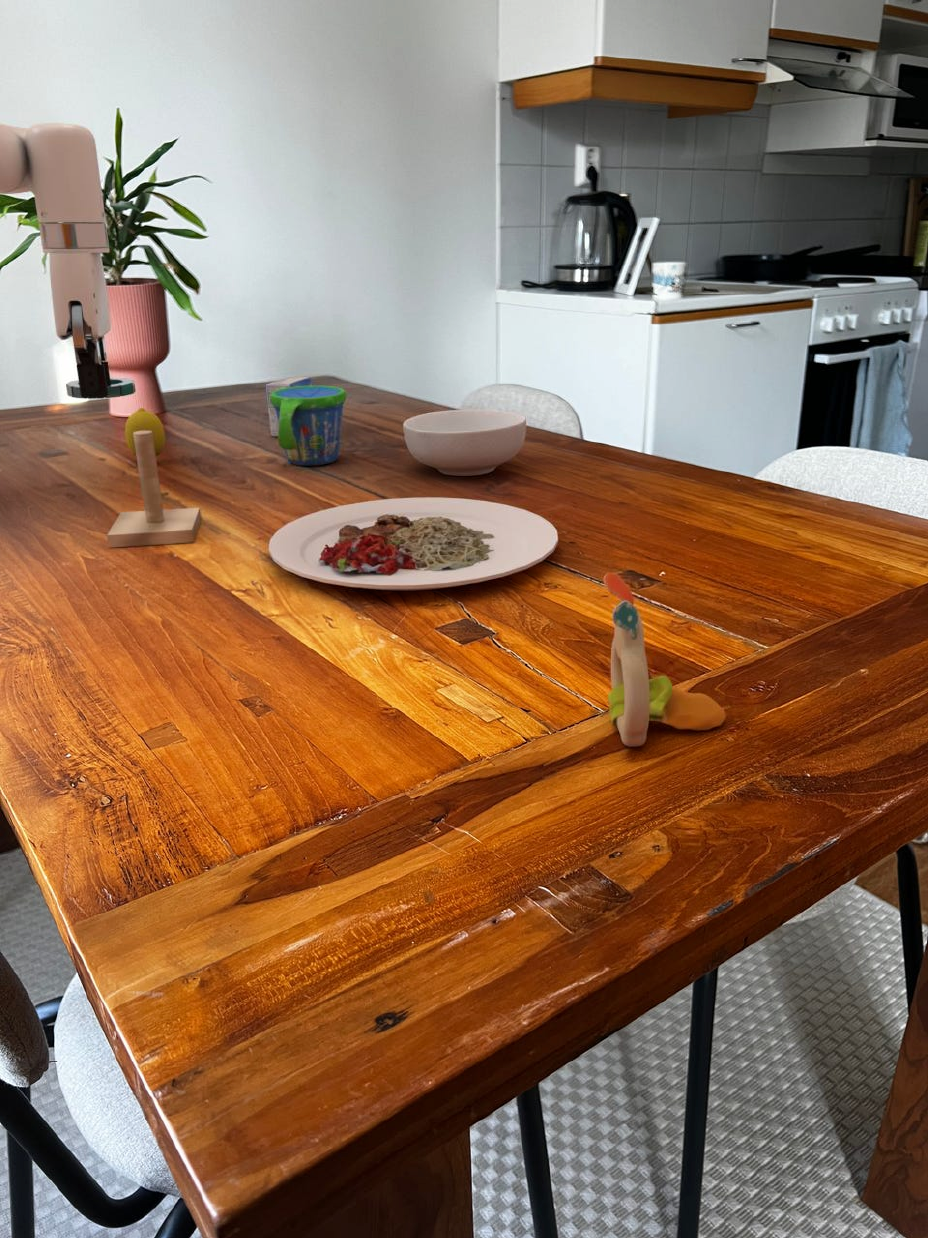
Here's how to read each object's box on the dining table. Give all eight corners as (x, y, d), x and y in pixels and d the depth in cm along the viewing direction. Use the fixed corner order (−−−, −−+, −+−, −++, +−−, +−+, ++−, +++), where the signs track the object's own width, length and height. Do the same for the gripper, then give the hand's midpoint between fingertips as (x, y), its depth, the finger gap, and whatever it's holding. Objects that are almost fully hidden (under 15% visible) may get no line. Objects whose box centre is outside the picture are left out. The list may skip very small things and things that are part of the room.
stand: (109, 547, 105) (91, 442, 100) (122, 524, 113) (107, 426, 109) (193, 542, 106) (180, 438, 102) (201, 519, 114) (189, 422, 110)
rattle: (721, 771, 60) (738, 600, 56) (591, 755, 62) (597, 589, 58) (725, 716, 67) (740, 559, 63) (607, 703, 69) (613, 551, 65)
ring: (62, 399, 121) (60, 388, 121) (75, 389, 129) (74, 378, 128) (129, 397, 122) (128, 386, 122) (139, 387, 130) (138, 376, 129)
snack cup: (315, 476, 133) (309, 401, 129) (251, 470, 137) (244, 397, 133) (371, 453, 146) (367, 384, 142) (311, 447, 150) (306, 381, 146)
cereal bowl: (483, 450, 146) (482, 403, 143) (550, 472, 133) (550, 420, 130) (383, 466, 137) (381, 416, 135) (445, 491, 124) (443, 436, 122)
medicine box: (294, 438, 157) (289, 384, 154) (270, 436, 158) (265, 383, 155) (316, 428, 164) (312, 376, 160) (292, 427, 165) (287, 376, 162)
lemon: (122, 466, 141) (113, 410, 138) (142, 457, 146) (134, 404, 143) (156, 467, 139) (148, 411, 136) (175, 458, 144) (168, 405, 141)
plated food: (587, 524, 110) (588, 495, 108) (507, 620, 84) (507, 584, 82) (349, 504, 119) (347, 477, 118) (212, 585, 93) (207, 552, 92)
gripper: (57, 238, 122) (79, 386, 129) (24, 240, 108) (51, 407, 115) (118, 238, 123) (137, 385, 130) (94, 240, 109) (116, 405, 116)
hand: (96, 394), depth 122 cm, fingers closed on ring, 1 cm apart
